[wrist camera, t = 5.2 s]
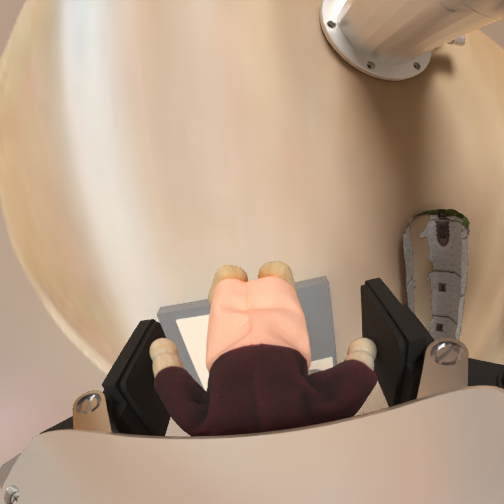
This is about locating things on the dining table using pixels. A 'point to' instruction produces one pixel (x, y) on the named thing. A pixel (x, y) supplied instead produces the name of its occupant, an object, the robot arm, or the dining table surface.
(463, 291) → the model building
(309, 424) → the grandmother figurine
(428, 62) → the robot arm
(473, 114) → the dining table surface
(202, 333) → the board
